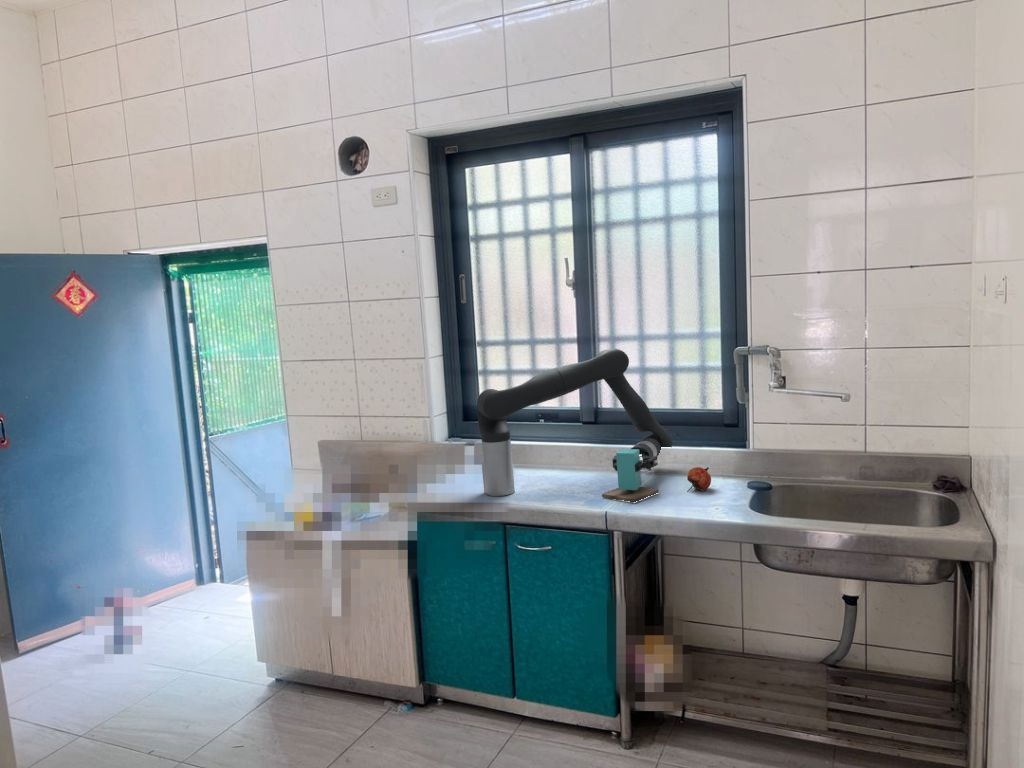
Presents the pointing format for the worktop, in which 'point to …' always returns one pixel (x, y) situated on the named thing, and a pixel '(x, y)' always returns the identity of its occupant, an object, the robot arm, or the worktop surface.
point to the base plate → (630, 494)
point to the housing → (628, 469)
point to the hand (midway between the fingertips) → (626, 468)
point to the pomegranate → (699, 478)
